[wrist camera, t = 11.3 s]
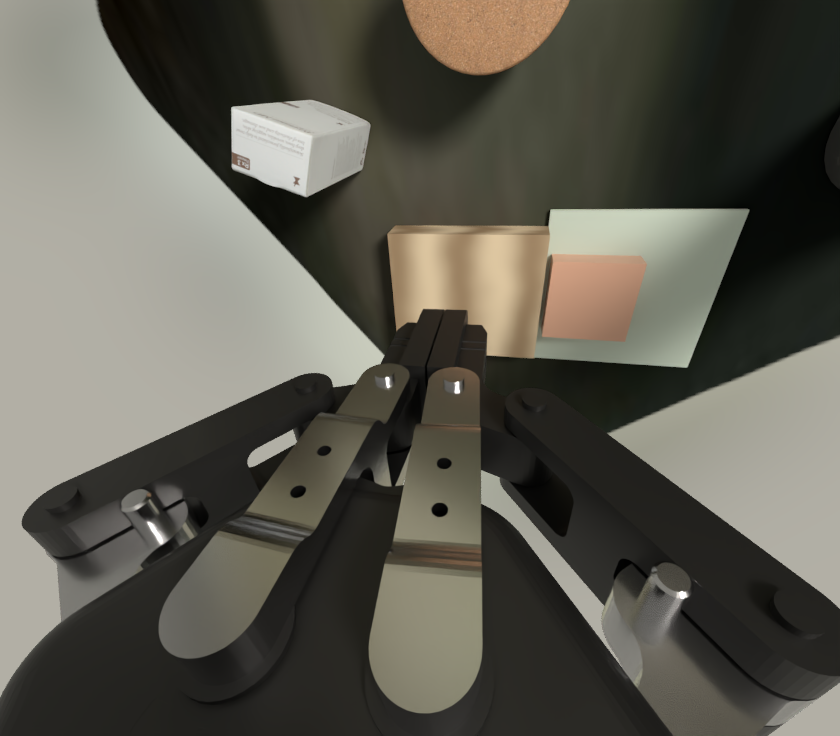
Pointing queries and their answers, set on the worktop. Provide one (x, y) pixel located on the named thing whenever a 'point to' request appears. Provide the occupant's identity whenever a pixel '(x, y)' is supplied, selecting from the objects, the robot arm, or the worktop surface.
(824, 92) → the worktop surface
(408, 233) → the oak board
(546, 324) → the terracotta coaster
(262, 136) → the skincare box
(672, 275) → the sage mat
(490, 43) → the lidded jar
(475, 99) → the worktop surface
